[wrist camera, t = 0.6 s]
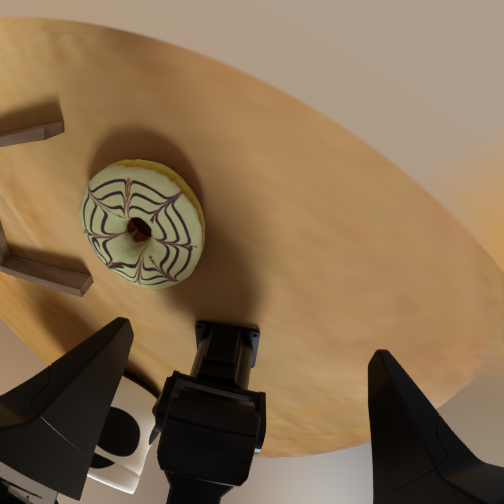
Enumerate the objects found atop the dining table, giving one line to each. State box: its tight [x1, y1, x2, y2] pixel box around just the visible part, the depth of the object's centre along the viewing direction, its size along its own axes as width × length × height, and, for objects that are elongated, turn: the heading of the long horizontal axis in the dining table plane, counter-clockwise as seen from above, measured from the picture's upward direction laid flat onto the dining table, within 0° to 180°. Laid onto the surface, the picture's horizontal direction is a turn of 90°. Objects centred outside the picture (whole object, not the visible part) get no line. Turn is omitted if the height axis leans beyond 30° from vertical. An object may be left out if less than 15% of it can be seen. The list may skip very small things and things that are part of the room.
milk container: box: [87, 373, 159, 494], centre depth 33 cm, size 17×17×18 cm
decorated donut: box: [79, 159, 205, 290], centre depth 21 cm, size 10×11×4 cm
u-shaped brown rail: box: [0, 121, 93, 297], centre depth 22 cm, size 17×16×2 cm
